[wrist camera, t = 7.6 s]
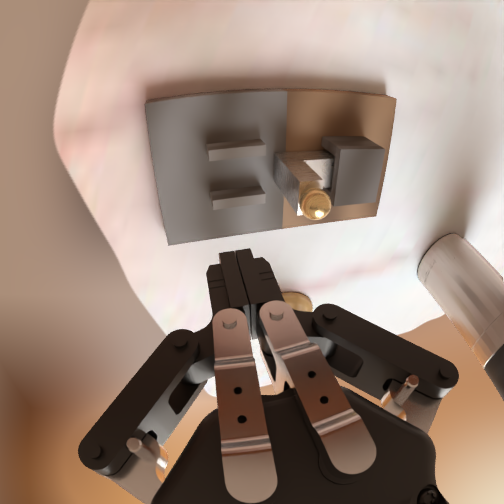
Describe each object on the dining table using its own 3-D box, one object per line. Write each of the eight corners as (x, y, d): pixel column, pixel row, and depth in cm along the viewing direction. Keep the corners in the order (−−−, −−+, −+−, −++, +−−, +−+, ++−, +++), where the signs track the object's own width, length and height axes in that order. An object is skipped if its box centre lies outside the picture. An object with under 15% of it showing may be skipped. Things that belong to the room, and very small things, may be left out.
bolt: (363, 149, 24) (416, 187, 18) (360, 174, 25) (408, 216, 20) (271, 153, 22) (307, 195, 17) (271, 181, 24) (304, 230, 18)
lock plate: (386, 95, 22) (420, 108, 19) (368, 208, 30) (393, 233, 26) (146, 100, 19) (139, 112, 15) (168, 235, 26) (169, 269, 23)
